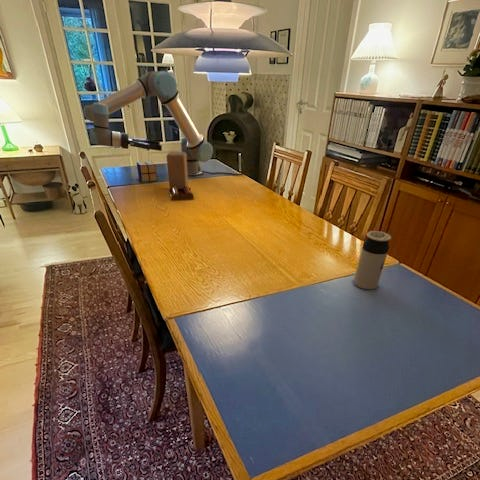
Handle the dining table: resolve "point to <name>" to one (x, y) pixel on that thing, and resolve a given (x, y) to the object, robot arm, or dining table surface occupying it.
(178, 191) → the brown tray
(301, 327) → the dining table surface
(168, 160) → the block
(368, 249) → the travel mug
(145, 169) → the puzzle cube
